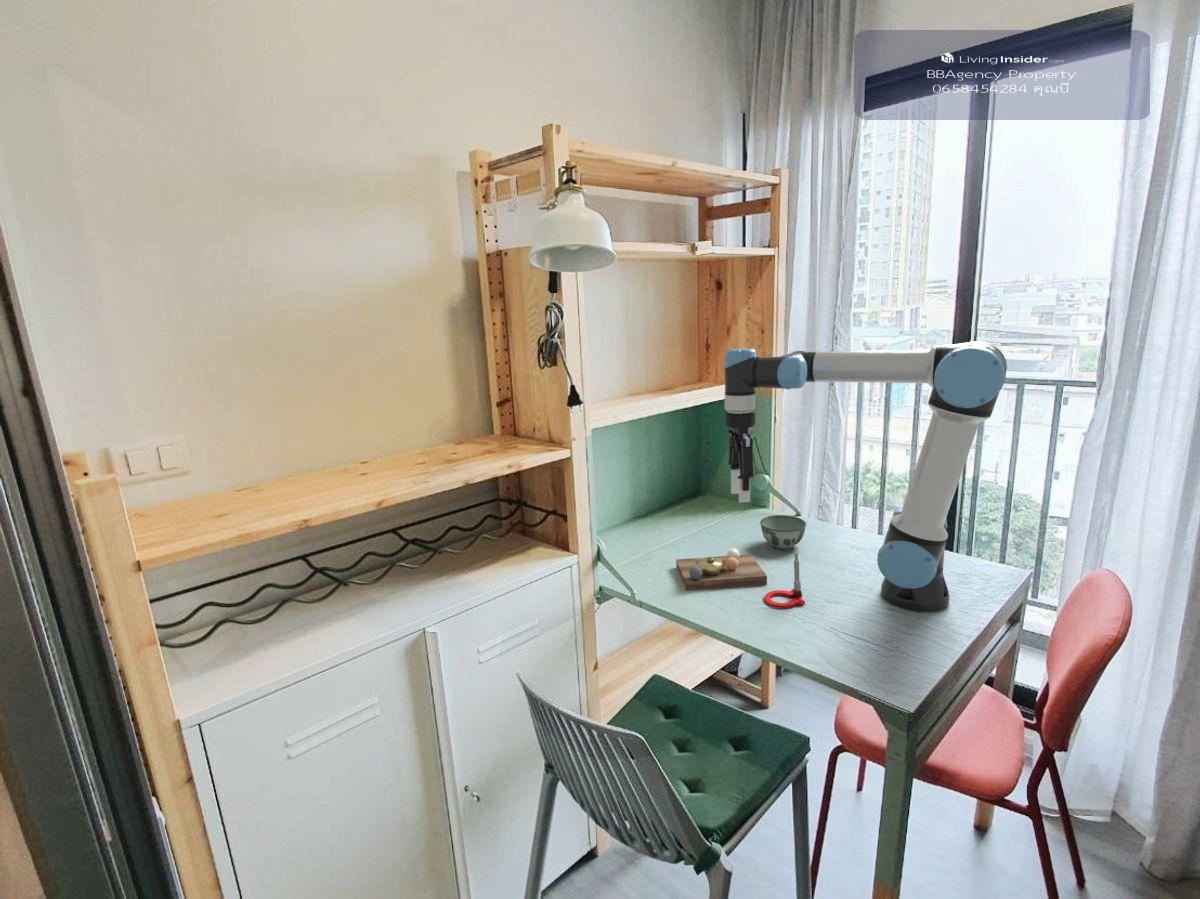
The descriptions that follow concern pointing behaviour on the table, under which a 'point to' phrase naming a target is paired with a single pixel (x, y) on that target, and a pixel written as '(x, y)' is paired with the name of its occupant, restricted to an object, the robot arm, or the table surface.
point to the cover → (711, 565)
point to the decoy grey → (695, 572)
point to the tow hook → (793, 593)
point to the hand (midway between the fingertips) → (740, 497)
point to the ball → (732, 563)
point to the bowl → (783, 530)
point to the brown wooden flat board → (723, 574)
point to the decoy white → (733, 553)
